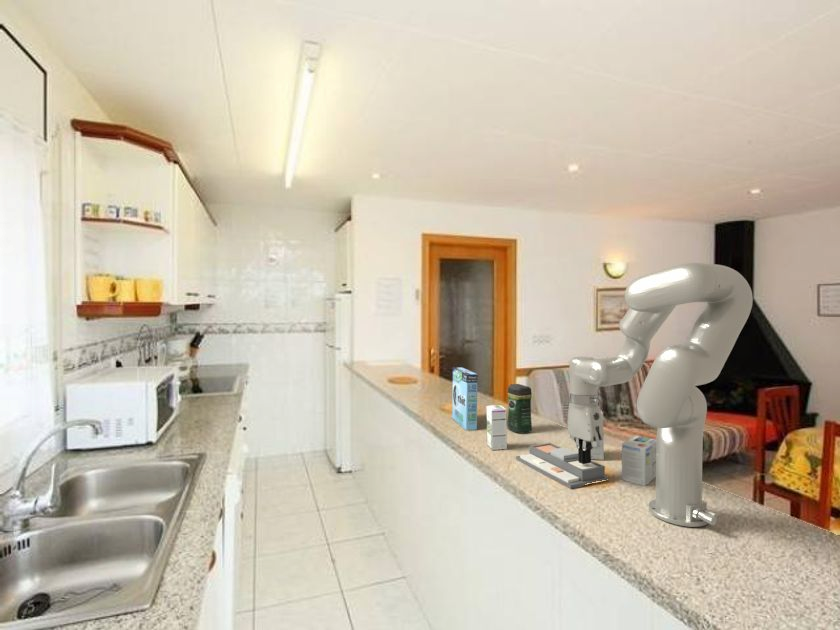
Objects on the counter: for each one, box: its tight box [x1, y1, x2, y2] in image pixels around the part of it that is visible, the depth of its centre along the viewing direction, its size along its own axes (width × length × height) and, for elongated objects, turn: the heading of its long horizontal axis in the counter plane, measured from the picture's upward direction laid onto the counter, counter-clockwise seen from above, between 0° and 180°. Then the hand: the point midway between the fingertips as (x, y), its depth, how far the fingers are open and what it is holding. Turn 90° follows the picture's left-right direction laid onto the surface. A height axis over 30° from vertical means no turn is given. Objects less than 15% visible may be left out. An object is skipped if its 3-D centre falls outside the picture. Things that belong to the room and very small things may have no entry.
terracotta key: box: [535, 445, 558, 453], centre depth 142 cm, size 6×6×2 cm
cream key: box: [568, 461, 597, 469], centre depth 128 cm, size 6×6×2 cm
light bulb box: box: [621, 435, 656, 486], centre depth 128 cm, size 11×7×11 cm, turn 135°
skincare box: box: [591, 410, 605, 461], centre depth 147 cm, size 8×7×16 cm
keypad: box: [515, 442, 610, 490], centre depth 135 cm, size 25×14×4 cm, turn 23°
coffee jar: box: [507, 383, 533, 434], centre depth 176 cm, size 10×8×19 cm
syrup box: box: [486, 404, 508, 451], centre depth 155 cm, size 6×6×14 cm
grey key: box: [550, 446, 578, 461], centre depth 135 cm, size 6×6×2 cm
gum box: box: [451, 366, 479, 431], centre depth 186 cm, size 20×5×23 cm, turn 13°
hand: (584, 462), depth 128 cm, fingers closed
